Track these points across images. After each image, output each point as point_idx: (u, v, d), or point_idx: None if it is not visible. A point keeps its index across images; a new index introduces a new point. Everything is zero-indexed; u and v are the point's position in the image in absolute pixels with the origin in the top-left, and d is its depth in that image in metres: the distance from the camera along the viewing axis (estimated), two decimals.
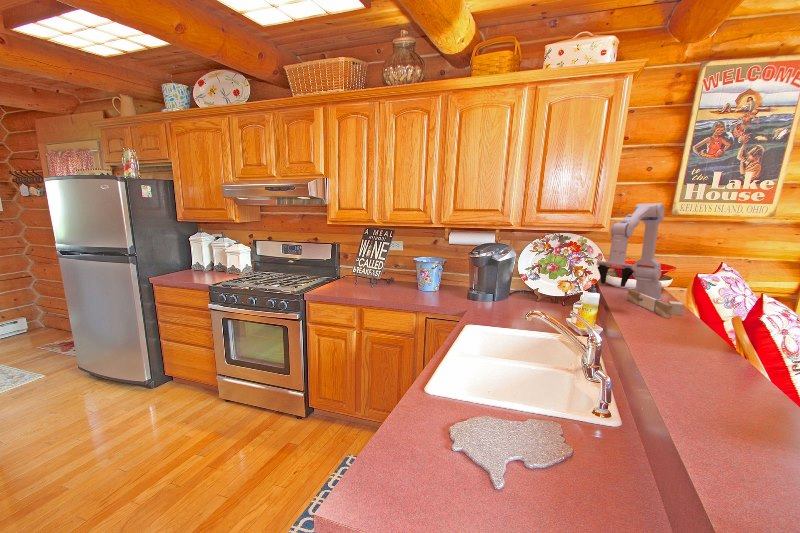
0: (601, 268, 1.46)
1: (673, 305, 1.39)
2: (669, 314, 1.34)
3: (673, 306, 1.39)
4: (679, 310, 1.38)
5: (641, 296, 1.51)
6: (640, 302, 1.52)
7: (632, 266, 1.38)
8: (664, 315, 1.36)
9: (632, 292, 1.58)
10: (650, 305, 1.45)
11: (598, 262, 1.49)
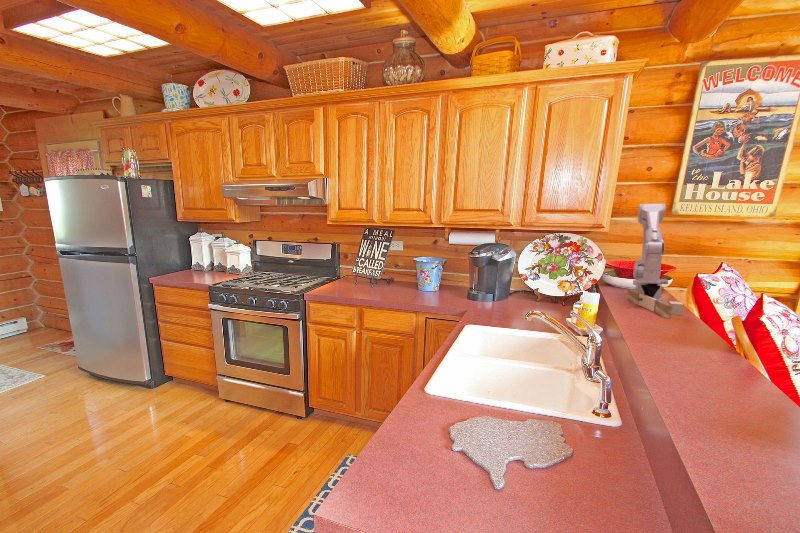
0: (653, 288, 1.47)
1: (673, 305, 1.39)
2: (669, 314, 1.34)
3: (673, 306, 1.39)
4: (679, 310, 1.38)
5: (641, 296, 1.51)
6: (640, 302, 1.52)
7: (666, 281, 1.49)
8: (664, 315, 1.36)
9: (632, 292, 1.58)
10: (650, 305, 1.45)
11: (638, 282, 1.47)
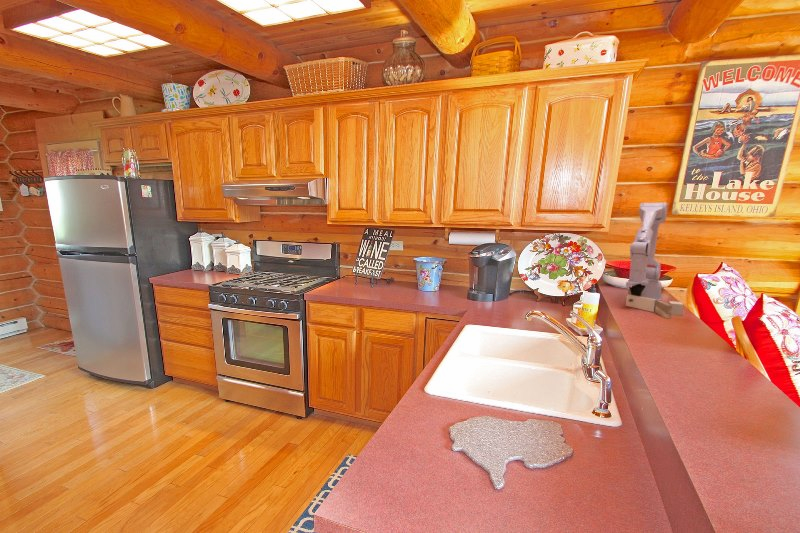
0: (643, 288, 1.47)
1: (673, 305, 1.39)
2: (669, 314, 1.34)
3: (673, 306, 1.39)
4: (679, 310, 1.38)
5: (630, 297, 1.50)
6: (629, 303, 1.51)
7: (646, 280, 1.51)
8: (664, 315, 1.36)
9: None
10: (647, 305, 1.44)
11: (632, 284, 1.44)
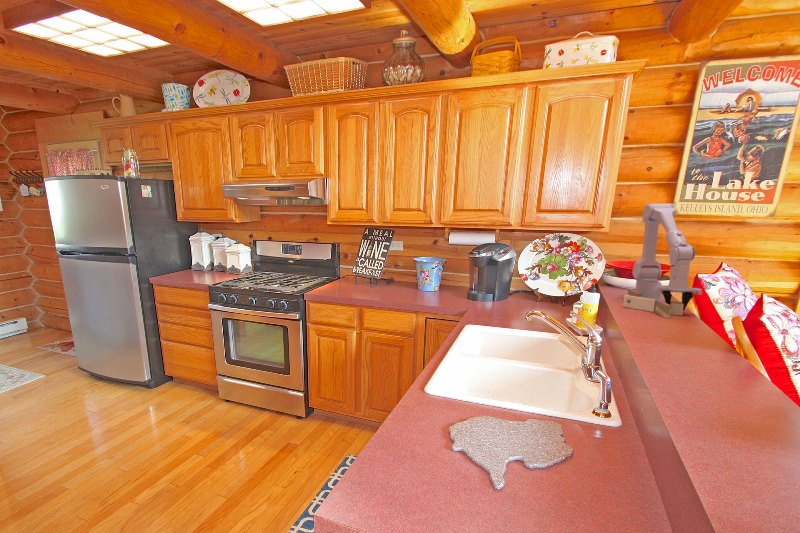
0: (670, 295, 1.38)
1: (673, 305, 1.39)
2: (669, 314, 1.34)
3: (673, 306, 1.39)
4: (679, 310, 1.38)
5: (628, 298, 1.49)
6: (627, 304, 1.49)
7: (699, 291, 1.35)
8: (664, 315, 1.36)
9: (632, 292, 1.58)
10: (647, 306, 1.44)
11: (658, 288, 1.41)
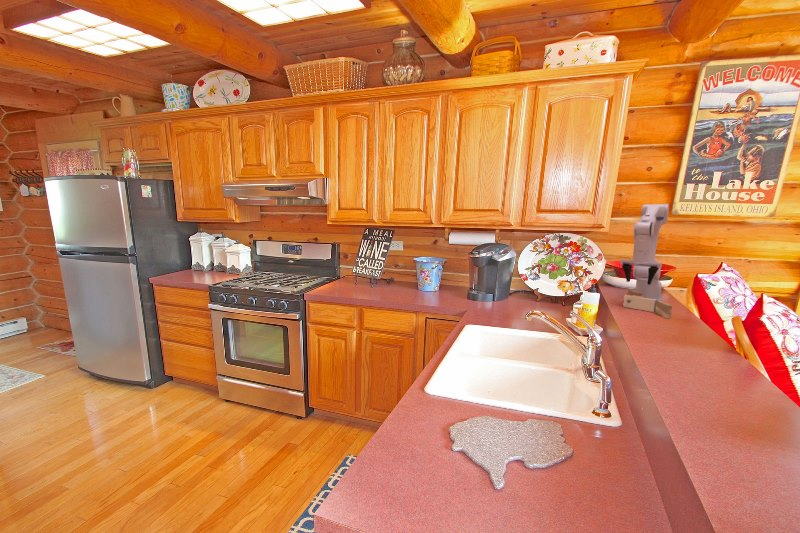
0: (626, 268, 1.50)
1: None
2: (669, 314, 1.34)
3: None
4: None
5: (628, 298, 1.49)
6: (627, 304, 1.49)
7: (658, 265, 1.42)
8: (664, 315, 1.36)
9: (632, 292, 1.58)
10: (647, 306, 1.44)
11: (622, 261, 1.52)
